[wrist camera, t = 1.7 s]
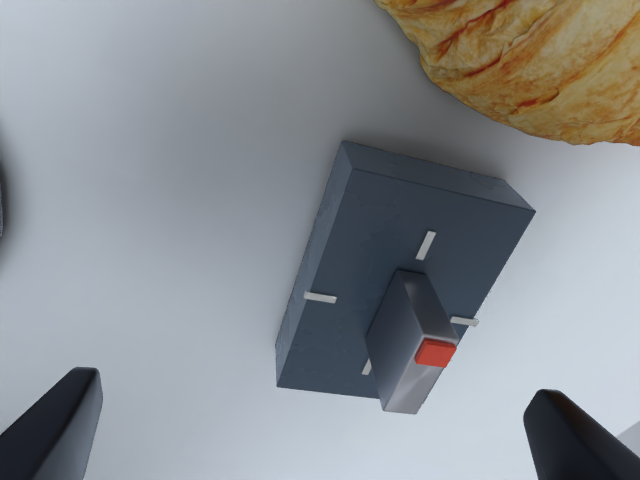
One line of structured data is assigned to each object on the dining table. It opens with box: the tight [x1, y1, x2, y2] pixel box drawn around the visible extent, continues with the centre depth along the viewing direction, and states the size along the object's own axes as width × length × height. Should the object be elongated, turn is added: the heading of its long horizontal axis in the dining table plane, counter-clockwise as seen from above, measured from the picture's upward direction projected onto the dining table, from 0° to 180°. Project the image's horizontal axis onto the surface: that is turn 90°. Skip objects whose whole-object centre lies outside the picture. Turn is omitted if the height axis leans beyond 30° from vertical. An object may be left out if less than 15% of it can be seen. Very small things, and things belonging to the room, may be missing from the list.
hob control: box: [275, 140, 536, 403], centre depth 22 cm, size 12×8×3 cm
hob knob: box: [365, 270, 459, 415], centre depth 19 cm, size 4×2×4 cm, turn 163°
